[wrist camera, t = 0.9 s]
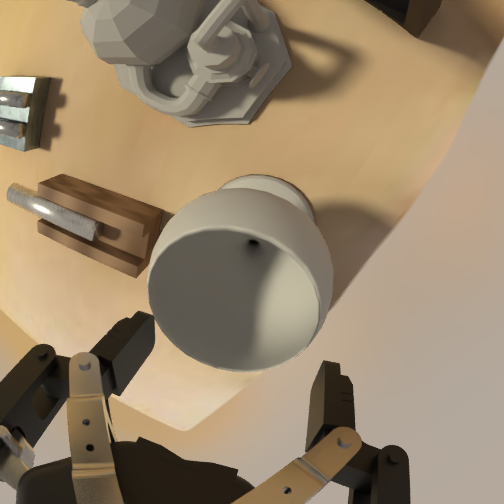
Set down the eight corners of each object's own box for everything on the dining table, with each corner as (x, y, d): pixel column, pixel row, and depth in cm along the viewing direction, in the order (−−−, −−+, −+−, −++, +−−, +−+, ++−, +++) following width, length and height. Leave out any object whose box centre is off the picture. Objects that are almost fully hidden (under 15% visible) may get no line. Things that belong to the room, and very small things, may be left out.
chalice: (234, 139, 29) (178, 161, 15) (349, 212, 30) (384, 289, 17) (177, 245, 35) (113, 323, 22) (278, 304, 36) (264, 403, 23)
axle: (18, 202, 32) (5, 203, 29) (22, 182, 31) (8, 183, 29) (100, 239, 32) (88, 243, 30) (106, 217, 32) (93, 219, 29)
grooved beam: (59, 219, 36) (37, 231, 32) (62, 173, 33) (38, 183, 29) (153, 259, 36) (136, 278, 32) (163, 210, 33) (144, 224, 29)
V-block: (3, 137, 32) (-20, 143, 27) (12, 75, 27) (-12, 77, 23) (38, 147, 32) (13, 154, 27) (50, 77, 27) (24, 78, 23)
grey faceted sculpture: (94, 69, 27) (-7, 67, 13) (164, -35, 20) (90, -91, 7) (226, 153, 30) (164, 189, 16) (316, 37, 23) (332, -30, 9)
